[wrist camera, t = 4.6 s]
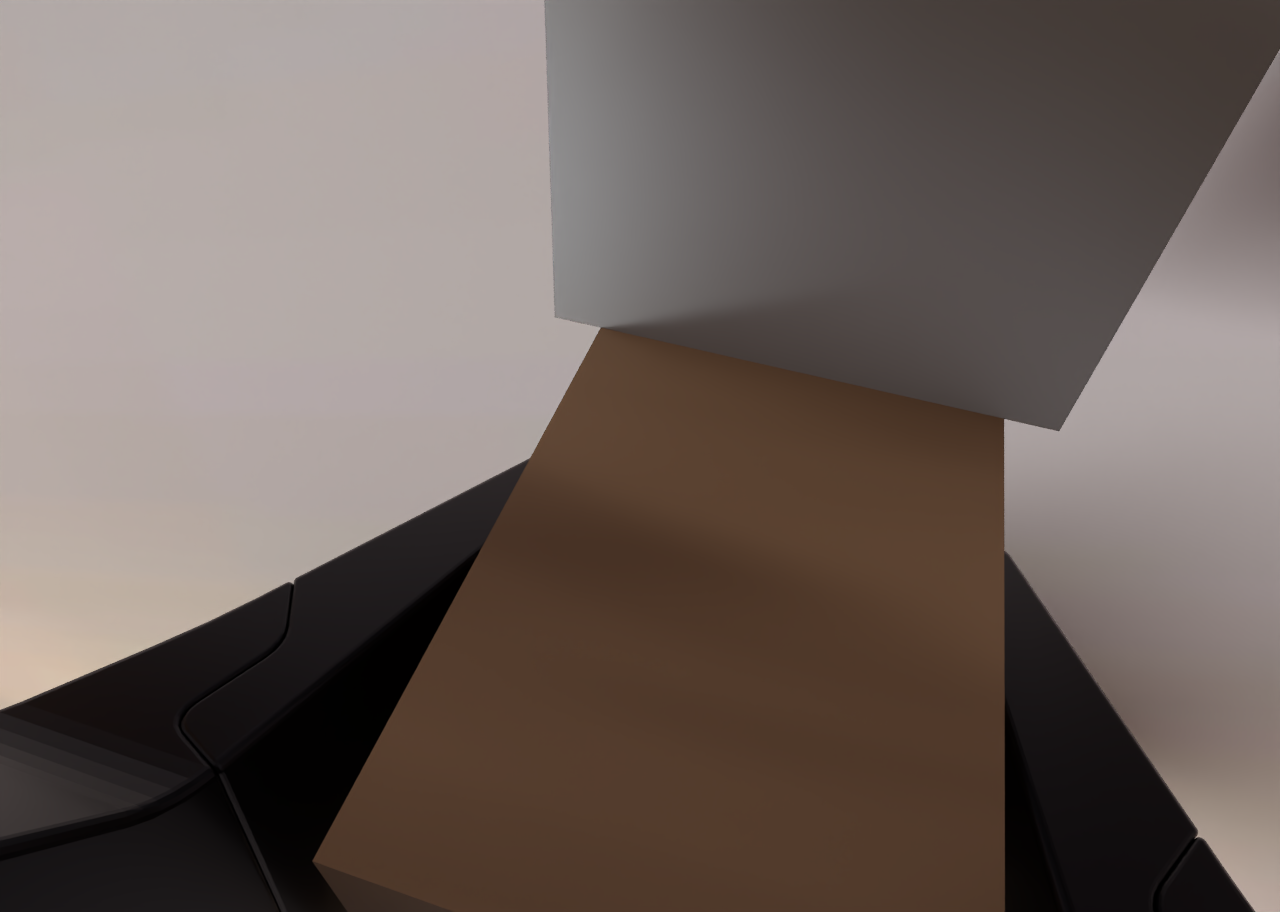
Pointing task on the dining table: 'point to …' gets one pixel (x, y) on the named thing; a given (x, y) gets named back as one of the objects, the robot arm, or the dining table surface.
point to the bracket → (787, 449)
